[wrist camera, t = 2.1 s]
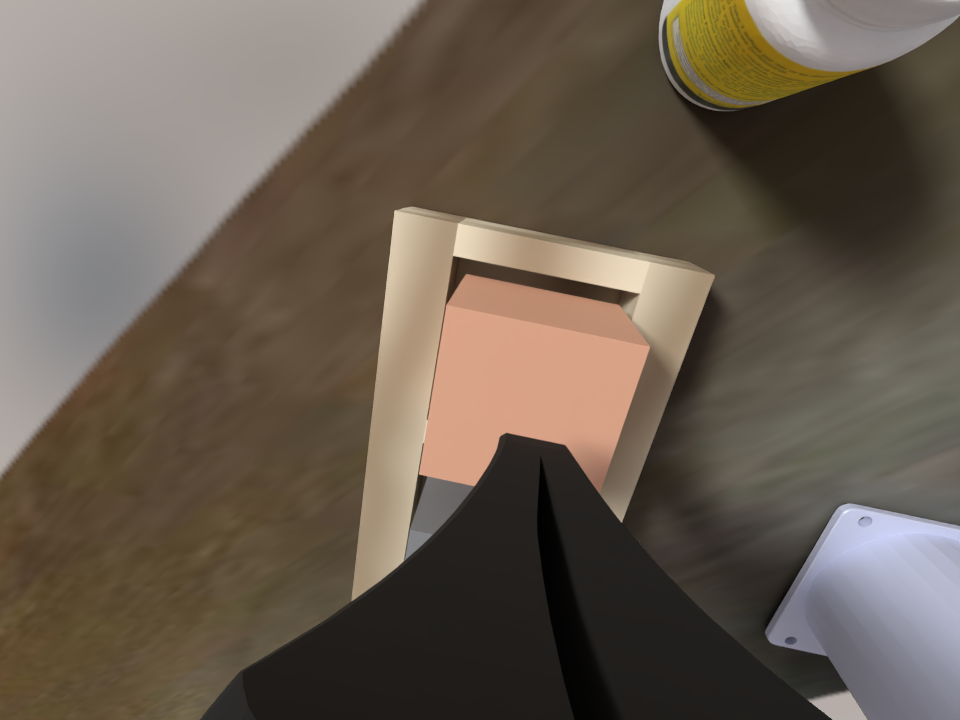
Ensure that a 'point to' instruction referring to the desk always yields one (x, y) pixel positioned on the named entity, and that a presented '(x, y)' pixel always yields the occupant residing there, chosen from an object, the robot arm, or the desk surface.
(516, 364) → the button terracotta
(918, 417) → the desk surface
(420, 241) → the board
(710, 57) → the supplement bottle
